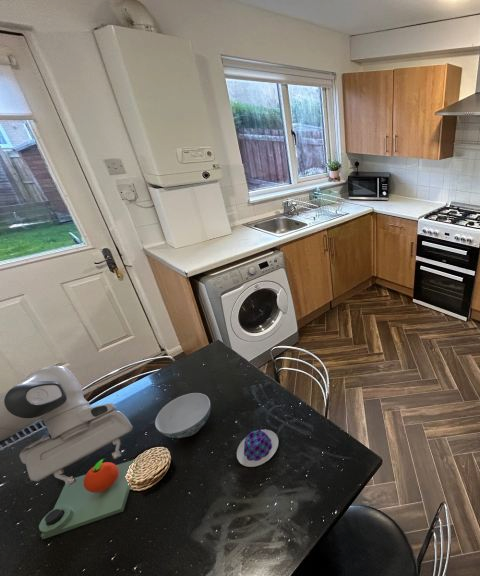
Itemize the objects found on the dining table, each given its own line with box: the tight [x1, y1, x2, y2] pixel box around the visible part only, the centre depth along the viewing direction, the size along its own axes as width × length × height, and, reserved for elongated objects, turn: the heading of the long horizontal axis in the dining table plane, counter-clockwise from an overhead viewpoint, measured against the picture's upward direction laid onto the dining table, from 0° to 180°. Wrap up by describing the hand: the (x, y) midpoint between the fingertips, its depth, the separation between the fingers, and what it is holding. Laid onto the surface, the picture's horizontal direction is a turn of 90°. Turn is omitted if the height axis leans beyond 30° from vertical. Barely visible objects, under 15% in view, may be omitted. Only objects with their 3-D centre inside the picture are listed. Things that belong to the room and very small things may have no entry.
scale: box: [38, 459, 135, 540], centre depth 82 cm, size 16×14×3 cm
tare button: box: [45, 509, 64, 525], centre depth 75 cm, size 3×3×2 cm
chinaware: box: [154, 392, 211, 439], centre depth 99 cm, size 15×15×8 cm
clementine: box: [84, 458, 119, 493], centre depth 83 cm, size 8×7×7 cm
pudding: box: [236, 429, 279, 468], centre depth 93 cm, size 12×12×5 cm
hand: (95, 470), depth 81 cm, fingers open, 8 cm apart
